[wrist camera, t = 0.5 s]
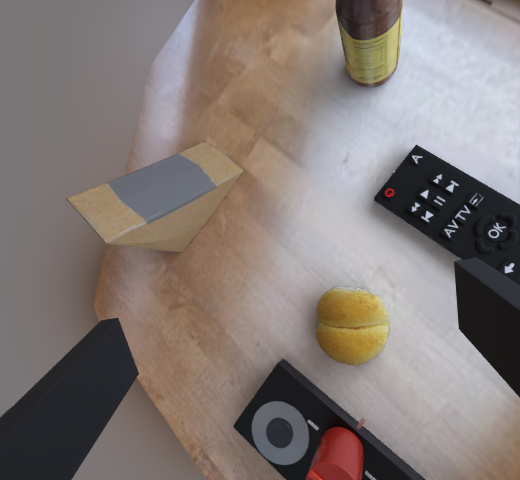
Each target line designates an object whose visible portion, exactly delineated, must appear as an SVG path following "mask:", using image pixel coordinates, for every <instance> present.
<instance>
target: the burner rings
mask: <svg viewBox="0 0 520 480" xmlns="http://www.w3.org/2000/svg"><path fill="white" fill-rule="evenodd" d="M252 435H253V439H254V442H255V445H256V447H257V448H258V450H259V451H260V453H261V454H262V455H263V456H264V457H265V458H267V459H268V460H270V461H271V462H273V463H276V464H280V465H289V464H293V463H295V462H297V461H299V460H300V459H301V458H302V457H303V456H304V454H305V453H306V451H307V448H308V445H309V439H310V435H309V428H308V425H307V422H306V420H305V418H304V417H303V415H302V414H301V412H300V411H299V410H298V409H297V408H295V407H294V406H293V405H291V404H289V403H287V402H284V401H270V402H268V403H265V404H264V405H262V406H261V407H260V408H259V409H258V411H257V412H256V414H255V416H254V418H253V422H252Z"/></svg>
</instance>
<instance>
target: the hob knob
mask: <svg viewBox="0 0 520 480" xmlns="http://www.w3.org/2000/svg"><path fill="white" fill-rule="evenodd" d="M363 458H364V452H363V447H362V444H361V442H360V440H359V439H358V438H357V436H356V435H355V434H354V433H352V432H351V431H349V430H348V429H345V428H342V427H334V428H330V429H328V430H327V431H326V432H324V434H323V435H322V437H321V439H320V442H319V444H318V447H317V450H316V452H315V455H314V458H313V460H312V463H311V466H310V468H309V471H308V474H307V476H306V480H361V479H362V468H363Z"/></svg>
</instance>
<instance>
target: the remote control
mask: <svg viewBox="0 0 520 480" xmlns="http://www.w3.org/2000/svg"><path fill="white" fill-rule="evenodd" d="M392 174H393V175H392V176H391V177H390V178H389V180H388V181H387V182H386V183H385V185H384V186H383V187H382V188H381V190H380V191H379V192H378V193H377V195H376V196H375V197H374V200H375V201H376V202H378V203H379V204H381V205H382V206H384V207H385V208H386V209H388V210H389V211H391V212H392V213H394V214H395V215H397V216H398V217H400V218H401V219H403V220H404V221H406V222H407V223H409V224H410V225H412V226H413V227H415V228H416V229H418V230H419V231H421V232H422V233H424V234H425V235H427V236H428V237H430V238H431V239H433V240H434V241H436V242H437V243H438V244H440V245H441V246H443V247H444V248H446V249H447V250H449V251H450V252H452V253H453V254H455V255H456V256H458V257H459V258H461V259H462V260H466V259H472V258H478V259H480V260H481V261H483V262H484V263H486V264H487V265H489V266H491V267H492V268H494V269H495V270H497V271H498V272H500V273H501V274H503V275H505V276H506V277H508V278H509V279H511V280H512V281H514V282H515V283H517V284H519V285H520V205H519V204H518V203H516V202H514V201H512V200H511V199H509V198H507V197H506V196H504V195H502V194H500V193H499V192H497V191H495V190H494V189H492V188H490V187H488V186H487V185H485V184H483V183H481V182H480V181H478V180H476V179H475V178H473V177H471V176H469V175H468V174H466V173H464V172H463V171H461V170H459V169H457V168H456V167H454V166H452V165H450V164H449V163H447V162H445V161H444V160H442V159H440V158H438V157H437V156H435V155H433V154H432V153H430V152H428V151H426V150H425V149H423V148H421V147H419V146H418V145H416V146H415V147H414V148H413V149H412V151H411V152H410V153H409V155H408V156H407V157H406V158H405V160H404V161H403V162H402V163H401V165H400V166H399V167H398V168H397V170H396V171H393V172H392Z"/></svg>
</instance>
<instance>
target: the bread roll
mask: <svg viewBox="0 0 520 480" xmlns="http://www.w3.org/2000/svg"><path fill="white" fill-rule="evenodd" d="M317 314H318V318H319V320H320V324H319V326H318V328H317V333H316V335H317V341H318V343H319V345H320V347H321V348H322V349H323V351H324V352H325V353H326V354H327V355H328V356H329V357H331V358H333V359H334V360H336V361H338V362H340V363H343V364H347V365H360V364H364V363H366V362H368V361H370V360H372V359H373V358H375V357H376V356H377V355H378V354H379V353H380V352H381V351H382V349H383V348H384V346H385V344H386V343H387V340H388V337H389V331H390V328H389V317H388V312H387V309H386V306H385V304H384V302H383V300H382V299H381V297H380V296H379V295H377V294H375V293H374V292H372V291H371V290H369V289H365V288H358V287H339V286H338V287H333V288H332V289H331V290H329V291H328V292H326V293H325V294H324V295H323V296H322V297H321V299H320V301H319V304H318V308H317Z"/></svg>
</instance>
